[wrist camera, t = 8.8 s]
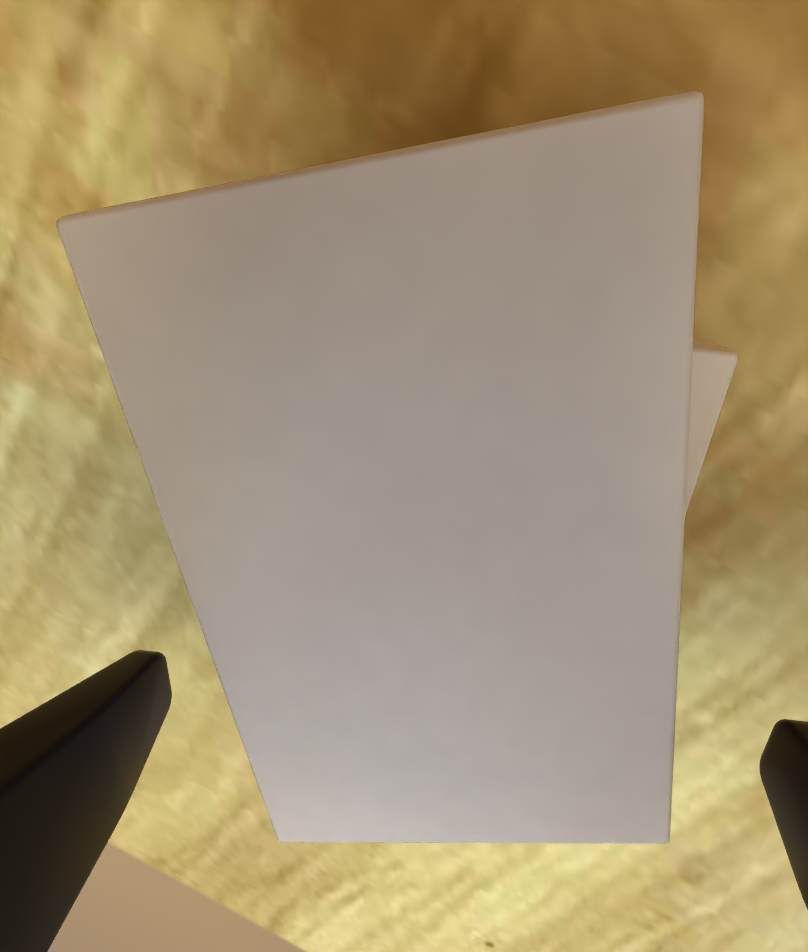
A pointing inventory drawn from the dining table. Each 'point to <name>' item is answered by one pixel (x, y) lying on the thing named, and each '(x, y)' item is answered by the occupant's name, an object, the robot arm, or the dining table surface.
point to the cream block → (428, 467)
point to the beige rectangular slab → (705, 402)
